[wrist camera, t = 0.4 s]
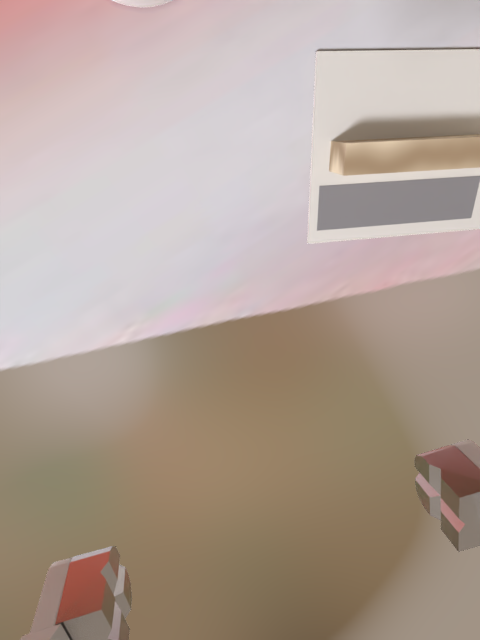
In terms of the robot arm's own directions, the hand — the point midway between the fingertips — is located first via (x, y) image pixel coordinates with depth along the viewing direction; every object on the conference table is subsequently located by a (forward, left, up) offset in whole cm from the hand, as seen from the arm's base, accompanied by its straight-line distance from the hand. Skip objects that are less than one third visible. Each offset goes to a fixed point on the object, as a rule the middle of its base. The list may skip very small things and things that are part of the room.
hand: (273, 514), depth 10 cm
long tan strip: (-5, +25, -37) cm, 45 cm away
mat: (-5, +33, -38) cm, 50 cm away
